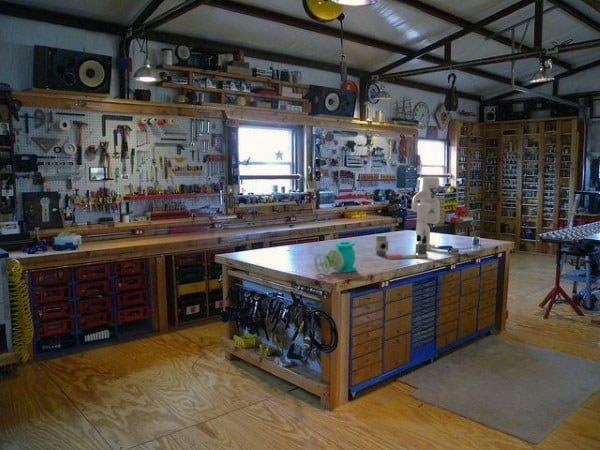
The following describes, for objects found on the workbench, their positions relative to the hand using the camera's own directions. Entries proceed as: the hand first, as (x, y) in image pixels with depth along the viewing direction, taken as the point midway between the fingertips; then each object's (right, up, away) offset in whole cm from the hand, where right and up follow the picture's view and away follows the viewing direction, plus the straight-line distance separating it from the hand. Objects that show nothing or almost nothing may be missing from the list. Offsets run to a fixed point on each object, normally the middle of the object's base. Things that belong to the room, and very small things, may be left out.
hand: (421, 242), depth 378 cm
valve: (-68, -18, -53) cm, 88 cm away
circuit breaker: (-29, -10, +11) cm, 33 cm away
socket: (0, -9, 0) cm, 9 cm away
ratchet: (-12, -12, -2) cm, 17 cm away
